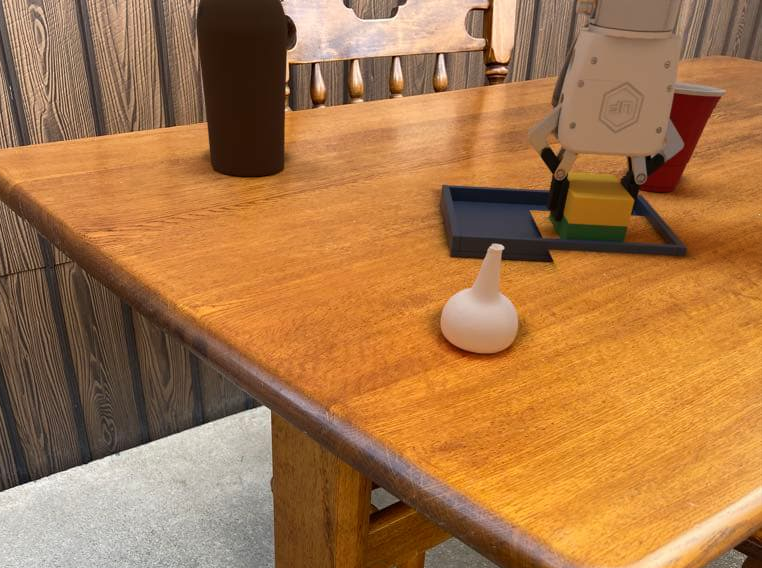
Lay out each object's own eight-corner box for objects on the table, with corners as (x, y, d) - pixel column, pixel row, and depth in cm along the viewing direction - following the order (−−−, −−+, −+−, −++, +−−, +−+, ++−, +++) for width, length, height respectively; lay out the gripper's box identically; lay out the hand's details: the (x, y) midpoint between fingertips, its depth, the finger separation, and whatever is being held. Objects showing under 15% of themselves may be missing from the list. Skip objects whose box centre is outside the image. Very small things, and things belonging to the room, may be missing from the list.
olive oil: (256, 183, 96) (246, -76, 80) (189, 168, 100) (167, -83, 84) (305, 165, 103) (305, -76, 87) (240, 151, 107) (229, -82, 91)
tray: (637, 213, 93) (642, 194, 92) (681, 268, 80) (687, 247, 78) (440, 203, 93) (442, 184, 92) (450, 256, 79) (453, 235, 78)
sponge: (547, 223, 87) (558, 171, 84) (601, 225, 87) (613, 174, 84) (562, 251, 80) (574, 196, 77) (620, 254, 80) (635, 199, 77)
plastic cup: (701, 183, 105) (733, 81, 97) (688, 203, 97) (721, 94, 89) (620, 169, 108) (645, 69, 100) (602, 188, 101) (626, 82, 93)
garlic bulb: (472, 318, 68) (486, 224, 63) (530, 343, 65) (549, 246, 60) (423, 337, 65) (433, 240, 59) (481, 366, 61) (497, 264, 56)
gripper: (545, 14, 68) (510, 226, 79) (742, 25, 68) (679, 235, 80) (532, 4, 74) (501, 203, 85) (714, 14, 74) (658, 211, 85)
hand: (587, 217), depth 82 cm, fingers closed on sponge, 6 cm apart
